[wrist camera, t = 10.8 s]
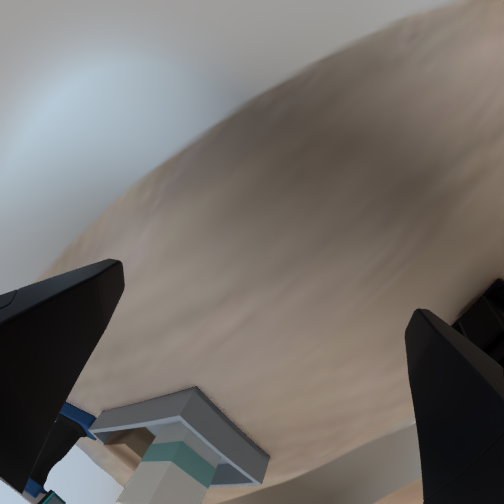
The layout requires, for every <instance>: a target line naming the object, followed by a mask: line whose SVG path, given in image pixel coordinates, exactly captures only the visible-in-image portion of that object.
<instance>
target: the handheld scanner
mask: <svg viewBox="0 0 504 504" xmlns="http://www.w3.org/2000/svg"><path fill="white" fill-rule="evenodd" d="M95 420H96V419H95V417H94V416H92V415H90V414H88V413H86V412H84V411H82V410H80V409H78V408H76V407H74V406H72V405H70V404H68V403H66V402H65V403H64V405H63V407H62V409H61V411H60V413H59V415H58V417H57V419H56V422H55V423H54V425H53V427H52V429H51V431H50V433H49V435H48V437H47V440H46V442H45V444H44V446H43V448H42V451H41V453H40V455H39V457H38V459H37V462H36V464H35V466H34V468H33V471H32V473H31V475H30V478H29V480H28V482H27V485H26V487H25V490H24V492H23V493H22V494H20V493H19V492H17V491H16V490H15V491H16V492H17V493H18V494H19V495H20V496H22V497H23V498H24V499H25V500H27V501H28V502H29V503H31V504H66V502H65V501H63V500H62V499H61V498H60V497H59V496H58V495H57V494H56V493H55V492H54V491H52V490H50V491H49V492H47V491H45V490H44V484H45V482H46V479H47V476H48V473H49V471H50V470H51V468H52V467H53V466H54V465H55V464H56V463H57V462H58V461H60V460H61V459H62V458H63V457H64V456H65V455H66V454H67V453H68V452H69V450H70V449H71V448H72V447H73V446H74V444H75V443H76V442H77V441H78V439H79V438H81V437H86V436H87V437H89V438H91V439H93V440H96V439H97V438H95V437H94V436H93V435H92V434H91V433H90V432H89V431H88V429H89V428H90V427H91V425H92V424H93V423H94V422H95ZM12 489H13V488H12ZM13 490H14V489H13Z"/></svg>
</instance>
